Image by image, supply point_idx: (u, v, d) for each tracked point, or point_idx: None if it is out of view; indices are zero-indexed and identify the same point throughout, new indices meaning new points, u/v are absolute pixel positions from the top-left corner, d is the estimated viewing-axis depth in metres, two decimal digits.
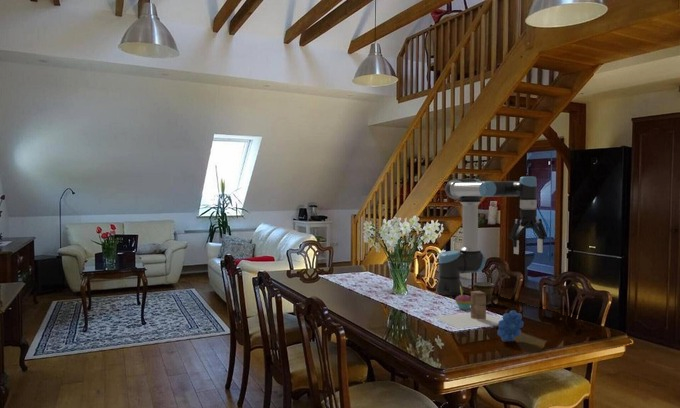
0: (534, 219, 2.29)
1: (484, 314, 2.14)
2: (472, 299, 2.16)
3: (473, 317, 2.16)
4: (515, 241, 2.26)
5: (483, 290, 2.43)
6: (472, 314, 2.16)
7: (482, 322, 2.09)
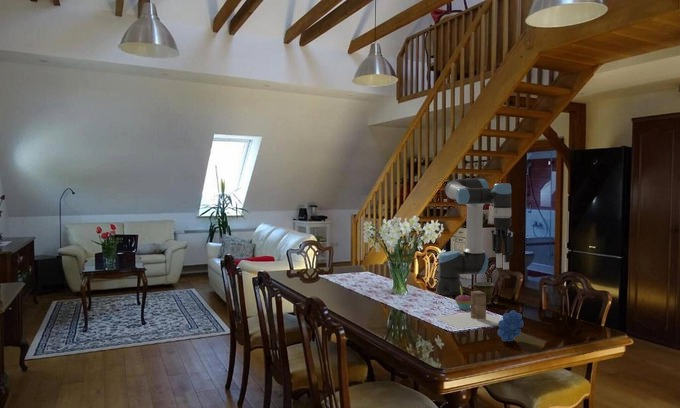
0: (504, 228, 2.16)
1: (484, 314, 2.14)
2: (472, 299, 2.16)
3: (473, 317, 2.16)
4: None
5: (483, 290, 2.43)
6: (472, 314, 2.16)
7: (482, 322, 2.09)
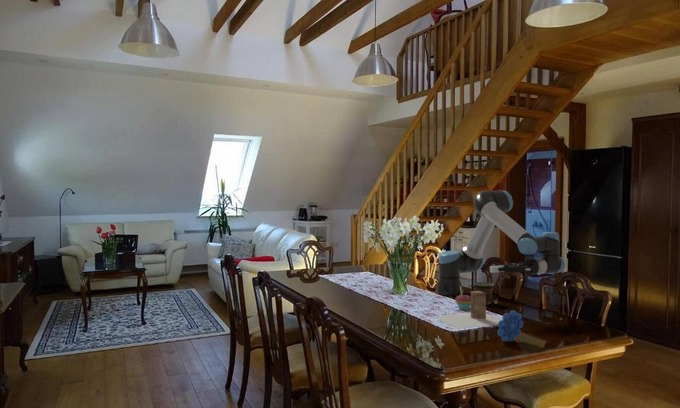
0: None
1: (484, 314, 2.14)
2: (472, 299, 2.16)
3: (473, 317, 2.16)
4: (504, 270, 2.18)
5: (483, 290, 2.43)
6: (472, 314, 2.16)
7: (482, 322, 2.09)
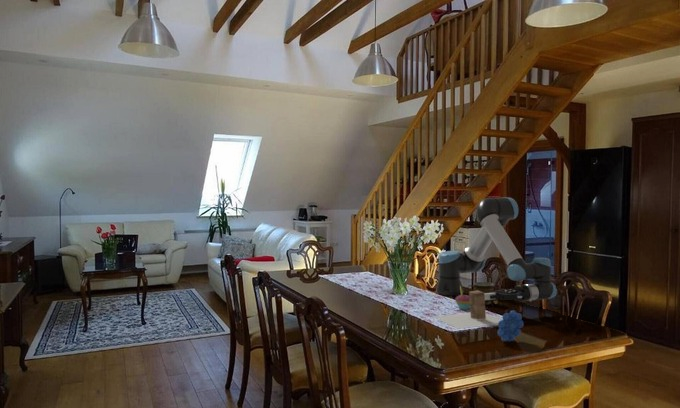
0: None
1: (484, 313, 2.14)
2: (471, 299, 2.16)
3: (473, 317, 2.16)
4: None
5: (483, 290, 2.43)
6: (472, 314, 2.16)
7: (482, 322, 2.09)
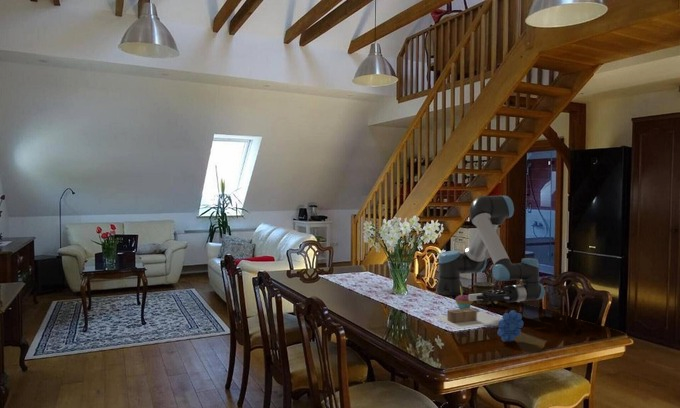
0: None
1: (472, 312, 2.12)
2: None
3: None
4: None
5: (483, 290, 2.43)
6: None
7: (482, 322, 2.09)
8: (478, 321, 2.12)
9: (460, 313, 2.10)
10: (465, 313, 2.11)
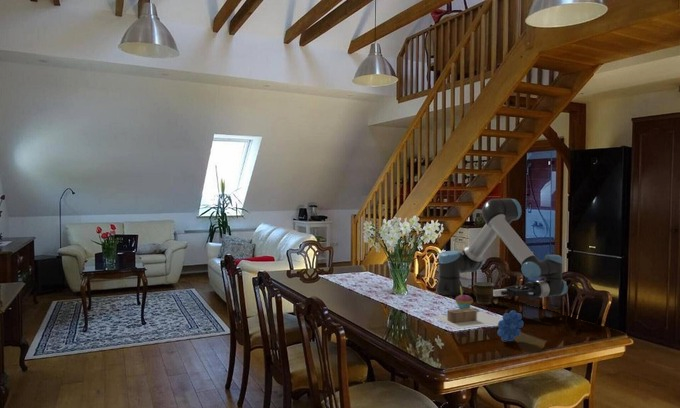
0: None
1: (472, 312, 2.12)
2: None
3: None
4: None
5: (483, 290, 2.43)
6: None
7: (482, 322, 2.09)
8: (478, 321, 2.12)
9: (460, 313, 2.10)
10: (465, 313, 2.11)
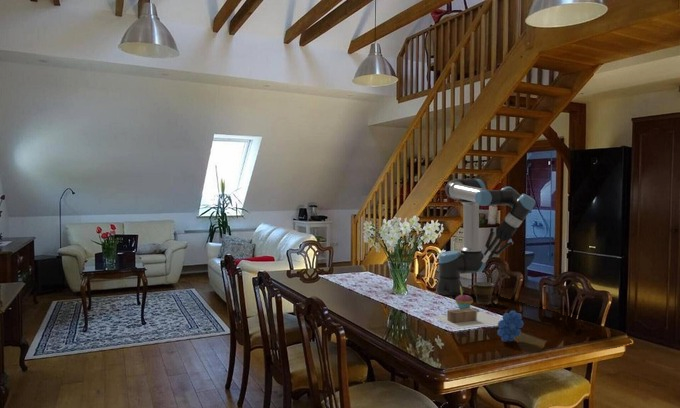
0: (509, 236, 2.31)
1: (472, 312, 2.12)
2: None
3: None
4: (487, 250, 2.38)
5: (483, 290, 2.43)
6: None
7: (482, 322, 2.09)
8: (478, 321, 2.12)
9: (460, 313, 2.10)
10: (465, 313, 2.11)
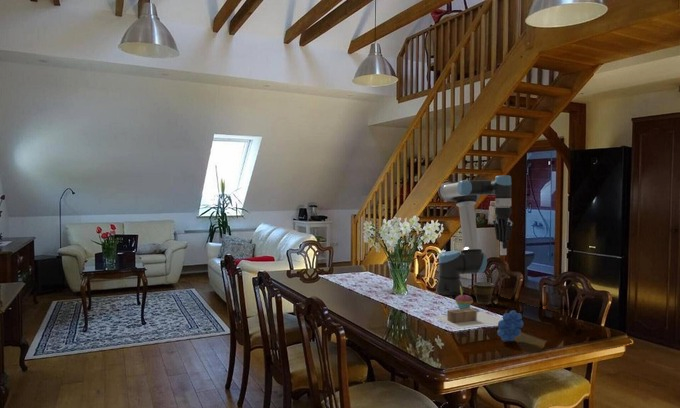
0: (505, 217, 2.32)
1: (472, 312, 2.12)
2: None
3: None
4: (500, 242, 2.37)
5: (483, 290, 2.43)
6: None
7: (482, 322, 2.09)
8: (478, 321, 2.12)
9: (460, 313, 2.10)
10: (465, 313, 2.11)
